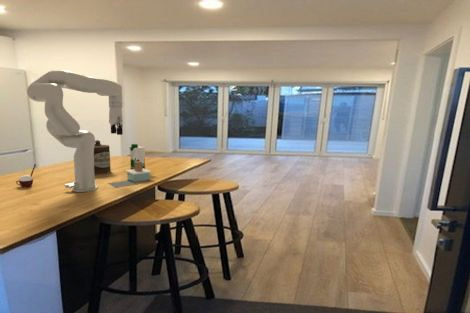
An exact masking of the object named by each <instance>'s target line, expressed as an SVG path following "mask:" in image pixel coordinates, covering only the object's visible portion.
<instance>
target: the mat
mask: <svg viewBox="0 0 470 313" xmlns="http://www.w3.org/2000/svg"><path fill="white" fill-rule="evenodd" d="M107 184H108V185H110V186H112V187H114V188H115V189H117V188H124V187H131V186H137V185H139V184H138V183H137V182H133V181H131V180H129V179H127V180H122V181H114V182H108V183H107Z"/></svg>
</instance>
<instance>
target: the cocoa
mask: <svg viewBox="0 0 470 313" xmlns="http://www.w3.org/2000/svg"><path fill="white" fill-rule="evenodd" d="M36 165H37V164H34V165H33V168H32V170H31V173H30V175H28V174H23V175H21V176H20V177H19V180H16V182H15V183H16V184H17V185H18V186H20V187H23V188H29V187H31V186H32V185H33V182H34V177H33V174H34V171H35V168H36Z"/></svg>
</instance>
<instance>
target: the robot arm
mask: <svg viewBox="0 0 470 313" xmlns="http://www.w3.org/2000/svg"><path fill="white" fill-rule="evenodd" d="M63 89H68V90H70V91H71V90H72V91H77V92H82V93H87V94H97V95H99V96H102V97H108V108H109V110H108V111H109V112H108V123H109V124H110V134H113V135H115V134H116V135H118V136H121V135H123V131H124V130H123V128H124V127H123V123H124V121H123V120H124V119H123V87H122V85H121V84H119V83H117V82H115V81H112V80H109V79H105V78H98V77H93V76H88V75H84V74H80V73H77V72H73V71H70V70H66V69H65V70H64V69H62V70H61V69H60V70H59V69H58V70H50V71H47V72H46V73H45V74H43V75H41V76H40V77H39V78H37V79H36V80H34V81H33V82H32V83H30V84H29V86H27V90H26V92H27V93H26V94H27V95H28V97H29V99H31V101H34V102H39V103H40V102H41V103H43V102H44V115H45V117H46V118H47V121H46V124H45V125H46V129H47V131H48V133H49V134H50V135H51V136H52V137H53V138H54V139H55V140H57V141H58V142H59V143H60V144H62V146H64V147H66V148H72V149H75V151H74V155H73V166H74V167H73V170H74V180H73V182H71V183H65V184H64V188H65V189H68V188H69V189H71V191H72V192H76V193H86V192H87V193H88V192H93V191H96V190H98V189H99V185H98V184H96V180H95V179H96V178H95V177H96V176H95V175H96V174H95V173H94V145H95V141H96V138H95V135H94V134H93V133H92V132H91V131H88V130H84V129H83V130H81V126H80V124H79V122H78V121H77V120H76V119H75V118H74V117H73V116H72V115H71V114H70V113H69V112H68V111H67V109H65V106H64V103H63V102H64V90H63Z"/></svg>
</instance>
